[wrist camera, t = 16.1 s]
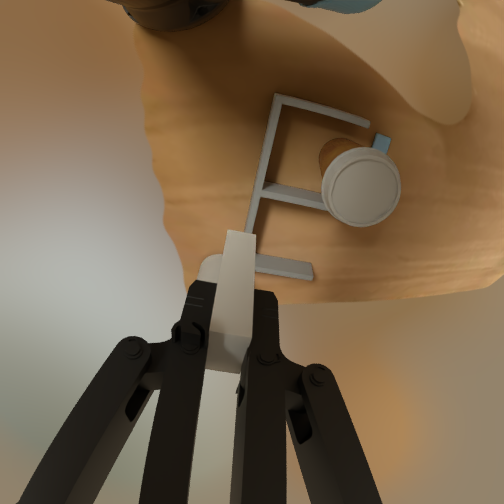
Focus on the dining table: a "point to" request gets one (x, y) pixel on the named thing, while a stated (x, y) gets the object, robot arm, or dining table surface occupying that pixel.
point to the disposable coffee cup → (358, 183)
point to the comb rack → (287, 192)
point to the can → (210, 268)
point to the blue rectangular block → (381, 143)
